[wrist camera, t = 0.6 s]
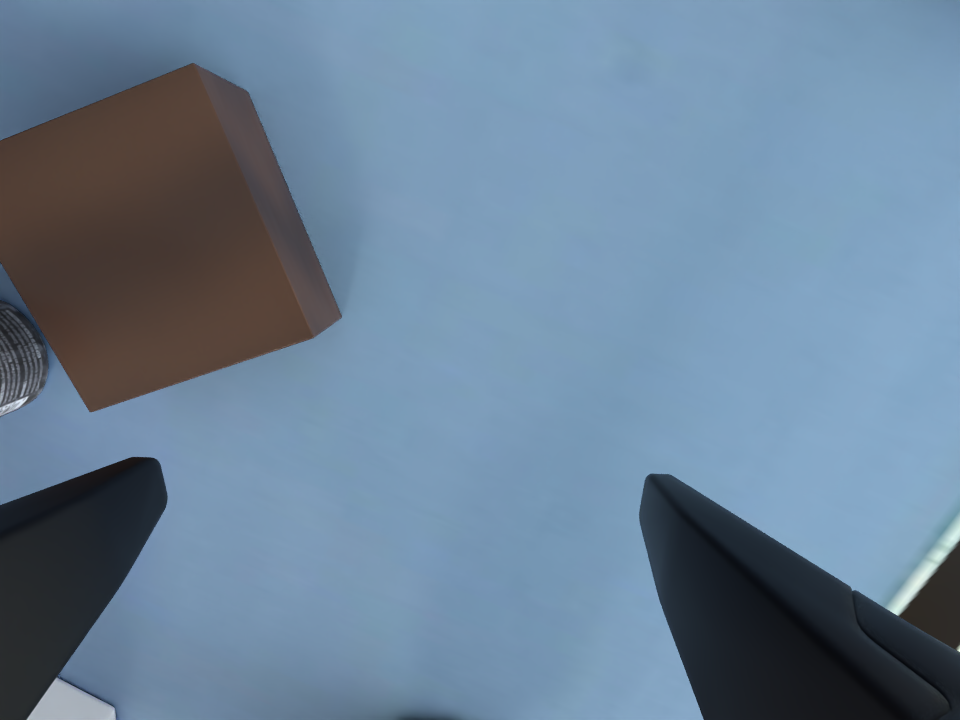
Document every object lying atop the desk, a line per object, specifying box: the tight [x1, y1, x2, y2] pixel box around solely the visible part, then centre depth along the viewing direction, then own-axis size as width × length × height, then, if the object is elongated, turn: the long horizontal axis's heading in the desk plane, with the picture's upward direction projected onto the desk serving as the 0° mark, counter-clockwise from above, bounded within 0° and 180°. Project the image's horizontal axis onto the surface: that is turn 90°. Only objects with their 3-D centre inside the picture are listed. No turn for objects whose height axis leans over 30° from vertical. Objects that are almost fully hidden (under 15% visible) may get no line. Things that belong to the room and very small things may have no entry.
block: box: [0, 63, 342, 412], centre depth 20 cm, size 10×10×4 cm
